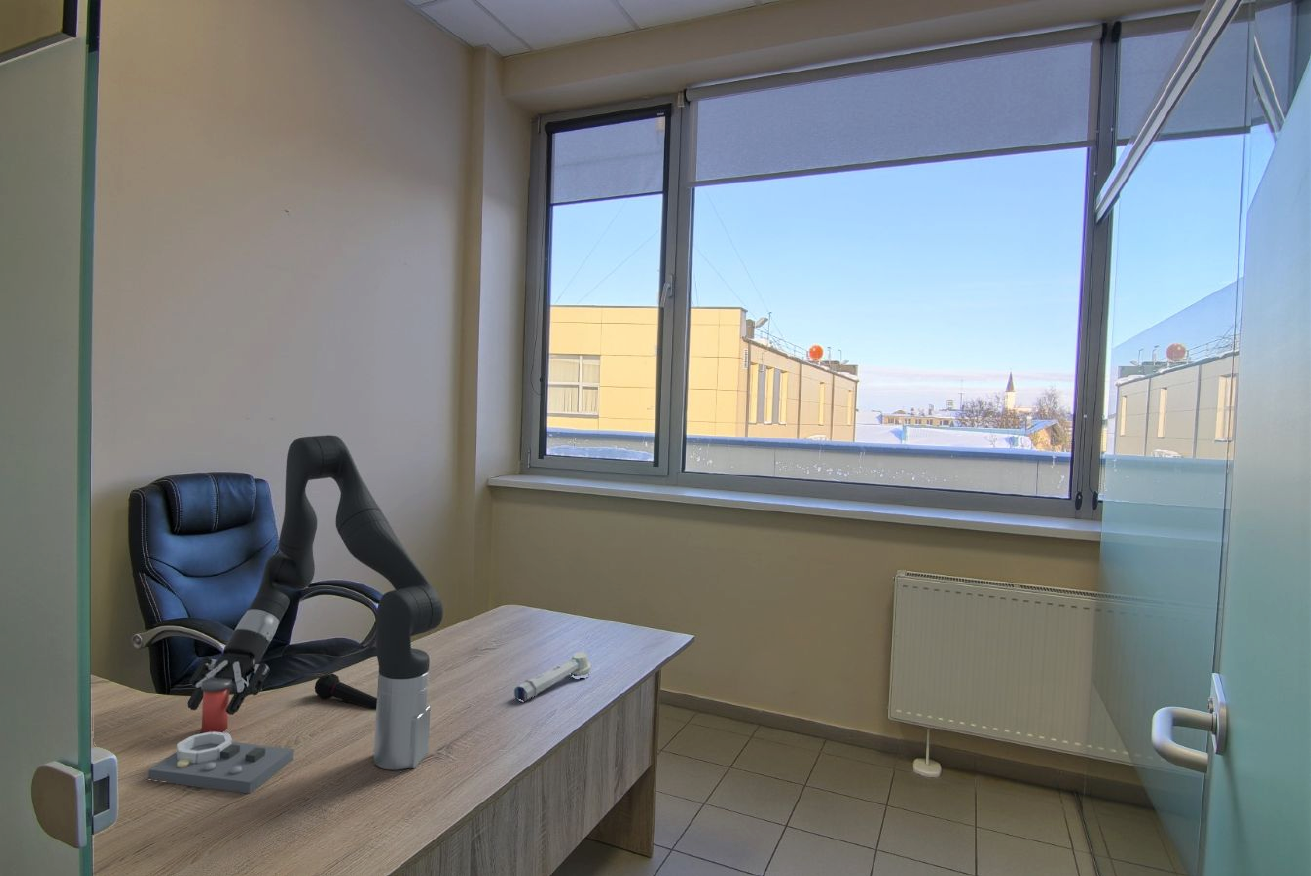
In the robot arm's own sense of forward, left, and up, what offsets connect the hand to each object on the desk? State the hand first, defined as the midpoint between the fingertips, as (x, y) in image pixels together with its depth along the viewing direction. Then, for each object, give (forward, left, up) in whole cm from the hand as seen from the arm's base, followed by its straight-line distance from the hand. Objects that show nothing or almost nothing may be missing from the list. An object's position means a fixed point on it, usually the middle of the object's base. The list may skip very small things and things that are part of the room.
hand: (210, 710), depth 138 cm
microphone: (-19, -20, -5) cm, 28 cm away
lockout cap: (0, -1, -5) cm, 5 cm away
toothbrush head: (-60, -42, -5) cm, 74 cm away
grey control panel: (-12, +12, -5) cm, 17 cm away
